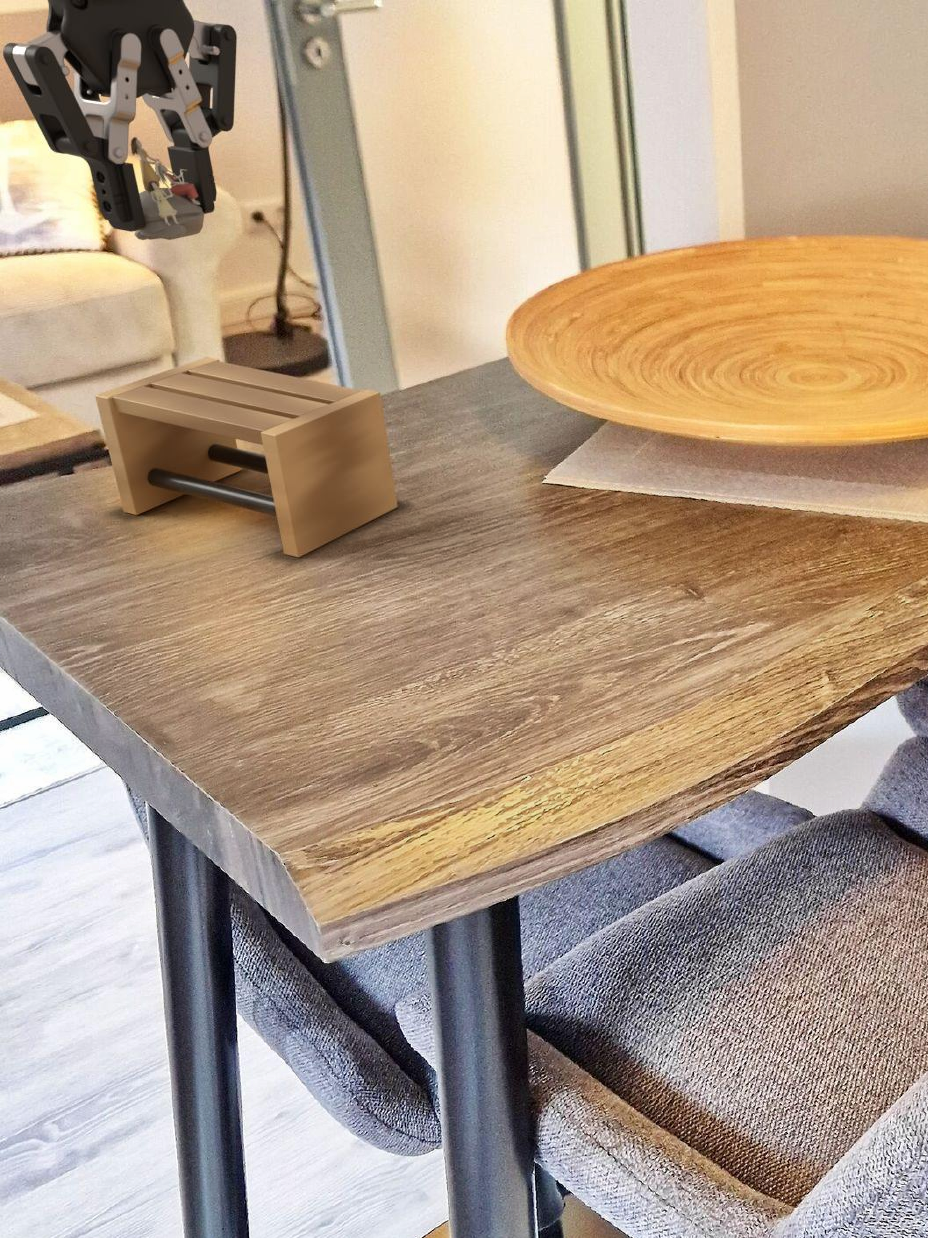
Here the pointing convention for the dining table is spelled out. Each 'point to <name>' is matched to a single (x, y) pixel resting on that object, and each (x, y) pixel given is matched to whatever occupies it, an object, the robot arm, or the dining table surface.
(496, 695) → the dining table surface
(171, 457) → the rack
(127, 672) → the dining table surface
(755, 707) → the dining table surface
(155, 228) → the figurine
